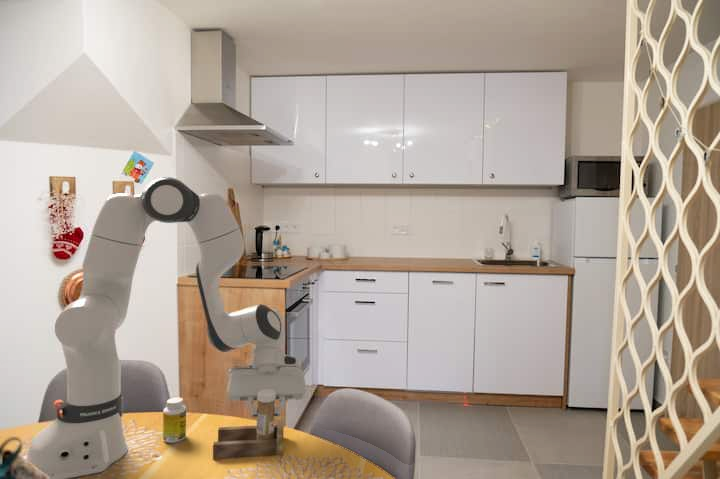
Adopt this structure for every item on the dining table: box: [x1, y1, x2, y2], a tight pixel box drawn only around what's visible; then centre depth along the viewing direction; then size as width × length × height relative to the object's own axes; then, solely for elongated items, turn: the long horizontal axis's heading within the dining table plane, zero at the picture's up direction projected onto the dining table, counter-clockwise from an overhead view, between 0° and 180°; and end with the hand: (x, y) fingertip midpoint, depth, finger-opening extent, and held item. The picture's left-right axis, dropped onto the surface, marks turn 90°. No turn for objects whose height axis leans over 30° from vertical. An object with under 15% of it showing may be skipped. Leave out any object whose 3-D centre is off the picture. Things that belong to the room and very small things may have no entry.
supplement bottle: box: [162, 397, 187, 444], centre depth 119 cm, size 6×6×10 cm
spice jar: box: [256, 389, 276, 440], centre depth 116 cm, size 5×5×13 cm
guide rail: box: [212, 420, 285, 460], centre depth 115 cm, size 17×10×4 cm, turn 99°
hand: (265, 415), depth 115 cm, fingers closed on spice jar, 4 cm apart
